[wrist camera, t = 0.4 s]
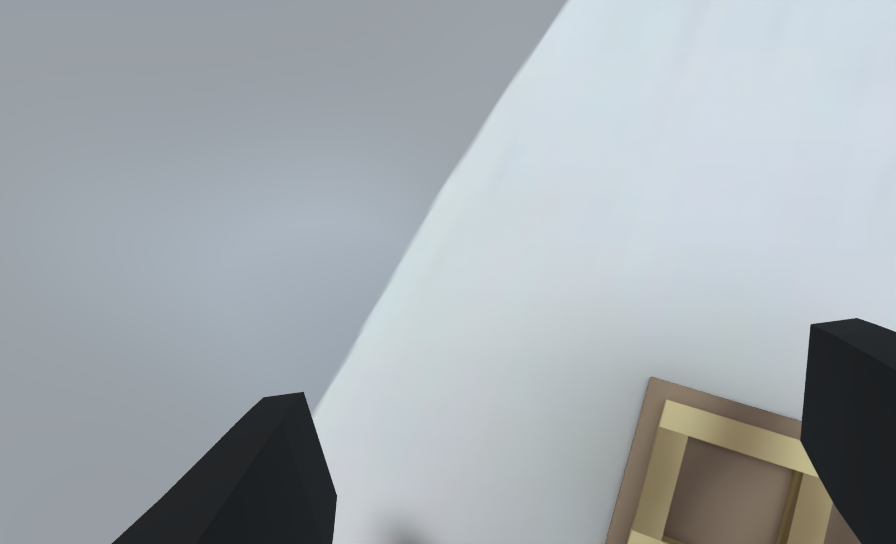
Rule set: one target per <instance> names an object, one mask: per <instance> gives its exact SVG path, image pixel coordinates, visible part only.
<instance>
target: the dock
mask: <svg viewBox="0 0 896 544" xmlns="http://www.w3.org/2000/svg"><path fill="white" fill-rule="evenodd" d="M801 426H802V421H798V420H795V419H792V418H788V417H785V416H781V415H778V414H775V413H771V412H768V411H765V410H761V409H758V408H755V407H751V406H748V405H744V404H741V403H738V402H734V401H731V400H728V399H724V398H721V397H718V396H714V395H711V394H707V393H704V392H701V391H697V390H694V389H691V388H687V387H684V386H681V385H677V384H674V383H670V382H667V381H664V380H660V379H657V378H654V377H650V381H649V385H648V388H647V392H646V396H645V399H644V403H643V407H642V410H641V414H640V418H639V421H638V425H637V429H636V433H635V436H634V440H633V444H632V447H631V451H630V455H629V458H628V462H627V466H626V469H625V473H624V477H623V480H622V484H621V488H620V492H619V495H618V499H617V503H616V506H615V510H614V514H613V517H612V521H611V525H610V528H609V532H608V536H607V539H606V543H605V544H861V542H860V541H859V540H858V538H857V537H856V535H855V534H854V533H853V531H852V530H851V528H850V527H849V526H848V524H847V523H846V521H845V520H844V518H843V517H842V515H841V514H840V513H839V511H838V510H837V508H836V507H835V505H834V503H833V501H832V500H831V498H830V496H829V494H828V493H827V491H826V489H825V487H824V485H823V484H822V482H821V480H820V478H819V476H818V474H817V473H816V471H815V469H814V467H813V465H812V463H811V461H810V459H809V457H808V455H807V453H806V451H805V449H804V447H803V445H802V444H801V442H800V437H801Z"/></svg>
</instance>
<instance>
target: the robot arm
mask: <svg viewBox="0 0 896 544" xmlns="http://www.w3.org/2000/svg"><path fill="white" fill-rule="evenodd" d="M800 442H801V444H802V445H803V447H804V449H805V451H806V453H807V455H808V457H809V459H810V461H811V463H812V465H813V467H814V469H815V471H816V473H817V474H818V476H819V478H820V480H821V482H822V484H823V485H824V487H825V489H826V491H827V493H828V494H829V496H830V498H831V500H832V501H833V503H834V505H835V507H836V508H837V510H838V511H839V513H840V514H841V515H842V517H843V518H844V520H845V521H846V523H847V524H848V526H849V527H850V528H851V530H852V531H853V533H854V534H855V535H856V537H857V538H858V540H859V541H860V542H861V544H896V332H894V331H892V330H889V329H886V328H884V327H881V326H878V325H876V324H873V323H870V322H867V321H864V320H861V319H858V318H855V319H847V320H840V321H832V322H825V323H817V324H811V327H810V338H809V349H808V360H807V371H806V382H805V393H804V404H803V415H802V426H801V437H800ZM336 501H337V495H336V492H335V488H334V485H333V482H332V479H331V476H330V473H329V470H328V467H327V463H326V460H325V457H324V454H323V451H322V448H321V445H320V442H319V438H318V435H317V432H316V429H315V426H314V423H313V420H312V417H311V413H310V410H309V408H308V404H307V401H306V398H305V395H304V392H300V393H293V394H285V395H278V396H270V397H264V398H262V399H261V400H260V401H259V402H258V403H257V404H256V405H255V406H253V407H252V408H251V409H250V410H249V411H248V412H247V413H246V414H245V415H244V416H243V417H242V418H241V419H240V420H239V421H238V422H237V423H236V424H235V425H234V426H233V427H232V428H231V429H230V430H229V431H228V432H227V433H226V434H225V435H224V436H223V437H222V438H221V439H220V440H219V441H218V442H217V443H216V444H215V445H214V446H213V447H212V448H211V449H210V450H209V451H208V452H207V453H206V454H205V455H204V456H203V457H202V458H201V459H200V460H199V461H198V462H197V463H196V464H195V465H194V466H193V467H192V468H191V469H190V470H189V471H188V472H187V473H186V474H185V475H184V476H183V477H182V478H181V479H180V480H179V481H178V482H177V483H176V484H175V485H174V486H173V487H172V488H171V489H170V490H169V491H168V492H167V493H166V494H165V495H164V496H163V497H162V498H161V499H160V500H159V501H158V502H157V503H155V504H154V505H153V506H152V507H151V508H150V509H149V510H148V511H147V512H146V513H144V515H142V516H141V517H140V518H139V519H138V520H137V521H136V522H135V523H134V524H133V525H132V526H130V527H129V528H128V529H127V530H126V531H125V532H124V533H123V534H122V535H121V536H120V537H119V538H117V539H116V540H115V541H114V542H113V543H112V544H332V541H333V533H334V522H335V512H336Z"/></svg>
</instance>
